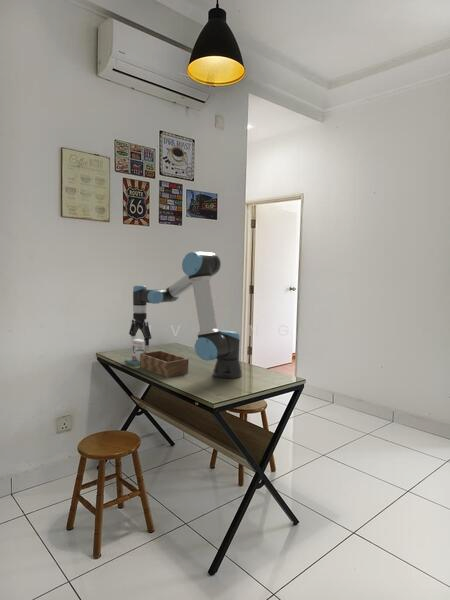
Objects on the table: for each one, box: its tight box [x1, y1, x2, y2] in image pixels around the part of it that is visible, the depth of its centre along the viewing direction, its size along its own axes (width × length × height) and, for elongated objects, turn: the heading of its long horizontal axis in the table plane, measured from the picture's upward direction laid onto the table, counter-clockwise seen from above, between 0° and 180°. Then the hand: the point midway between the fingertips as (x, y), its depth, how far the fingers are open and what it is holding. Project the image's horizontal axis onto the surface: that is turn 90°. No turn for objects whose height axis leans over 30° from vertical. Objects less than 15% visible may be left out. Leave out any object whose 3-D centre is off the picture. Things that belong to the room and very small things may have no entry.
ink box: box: [131, 338, 149, 361], centre depth 240 cm, size 9×5×12 cm, turn 62°
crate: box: [139, 350, 189, 378], centre depth 225 cm, size 26×14×8 cm, turn 43°
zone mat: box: [124, 357, 140, 366], centre depth 241 cm, size 12×12×1 cm
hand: (139, 349), depth 241 cm, fingers open, 13 cm apart
